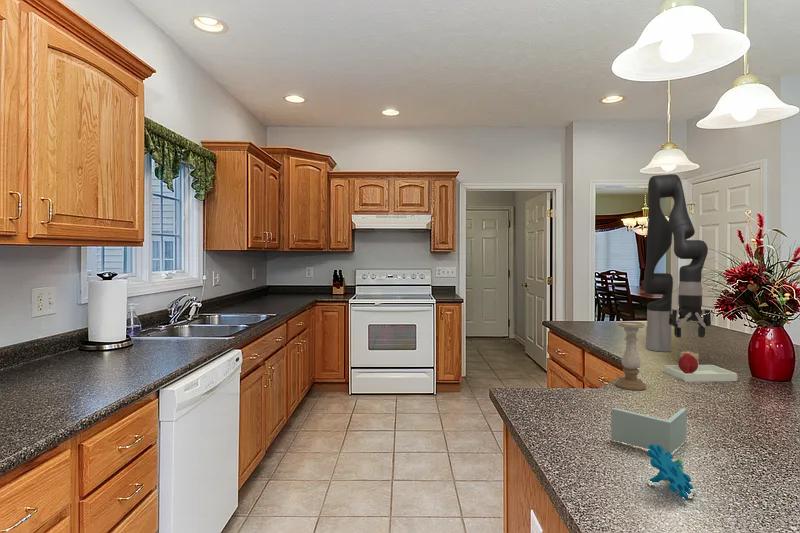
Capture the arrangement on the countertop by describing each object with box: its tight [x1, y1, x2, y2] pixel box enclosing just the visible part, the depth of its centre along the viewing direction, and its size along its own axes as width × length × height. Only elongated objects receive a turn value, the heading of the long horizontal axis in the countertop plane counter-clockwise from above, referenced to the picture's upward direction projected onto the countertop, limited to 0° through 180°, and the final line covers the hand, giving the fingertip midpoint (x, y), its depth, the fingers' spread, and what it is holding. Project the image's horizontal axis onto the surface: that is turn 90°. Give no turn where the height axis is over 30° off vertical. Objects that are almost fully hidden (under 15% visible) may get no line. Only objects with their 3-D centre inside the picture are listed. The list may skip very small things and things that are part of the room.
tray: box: [663, 364, 738, 383], centre depth 156 cm, size 12×18×2 cm, turn 91°
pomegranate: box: [677, 351, 699, 374], centre depth 156 cm, size 6×6×8 cm
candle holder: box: [615, 321, 647, 391], centre depth 145 cm, size 9×9×20 cm
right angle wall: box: [610, 407, 688, 453], centre depth 104 cm, size 12×12×8 cm
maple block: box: [680, 351, 700, 365], centre depth 170 cm, size 4×4×5 cm
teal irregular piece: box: [646, 444, 694, 499], centre depth 84 cm, size 11×6×10 cm
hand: (689, 337), depth 170 cm, fingers open, 8 cm apart
